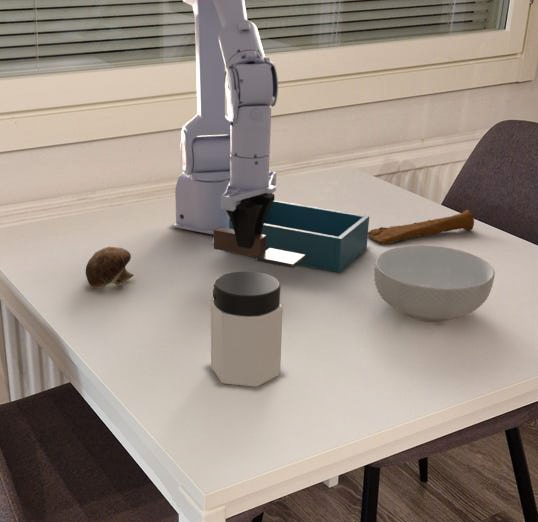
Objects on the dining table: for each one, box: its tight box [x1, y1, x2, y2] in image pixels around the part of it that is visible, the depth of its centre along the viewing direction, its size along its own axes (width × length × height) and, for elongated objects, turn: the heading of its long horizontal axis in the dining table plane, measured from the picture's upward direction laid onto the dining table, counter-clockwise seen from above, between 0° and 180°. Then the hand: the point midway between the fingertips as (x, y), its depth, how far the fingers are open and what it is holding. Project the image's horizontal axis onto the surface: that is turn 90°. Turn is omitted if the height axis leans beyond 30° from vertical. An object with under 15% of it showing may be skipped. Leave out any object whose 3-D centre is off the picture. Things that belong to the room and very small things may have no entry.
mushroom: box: [85, 246, 134, 289], centre depth 144 cm, size 8×8×6 cm
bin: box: [229, 199, 370, 273], centre depth 159 cm, size 20×13×6 cm, turn 64°
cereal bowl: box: [373, 244, 496, 323], centre depth 138 cm, size 17×17×7 cm
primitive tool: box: [368, 209, 475, 245], centre depth 167 cm, size 19×6×4 cm, turn 112°
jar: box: [210, 270, 284, 388], centre depth 119 cm, size 9×8×12 cm
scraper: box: [213, 226, 305, 269], centre depth 145 cm, size 14×5×3 cm, turn 64°
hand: (248, 244), depth 146 cm, fingers closed on scraper, 2 cm apart
